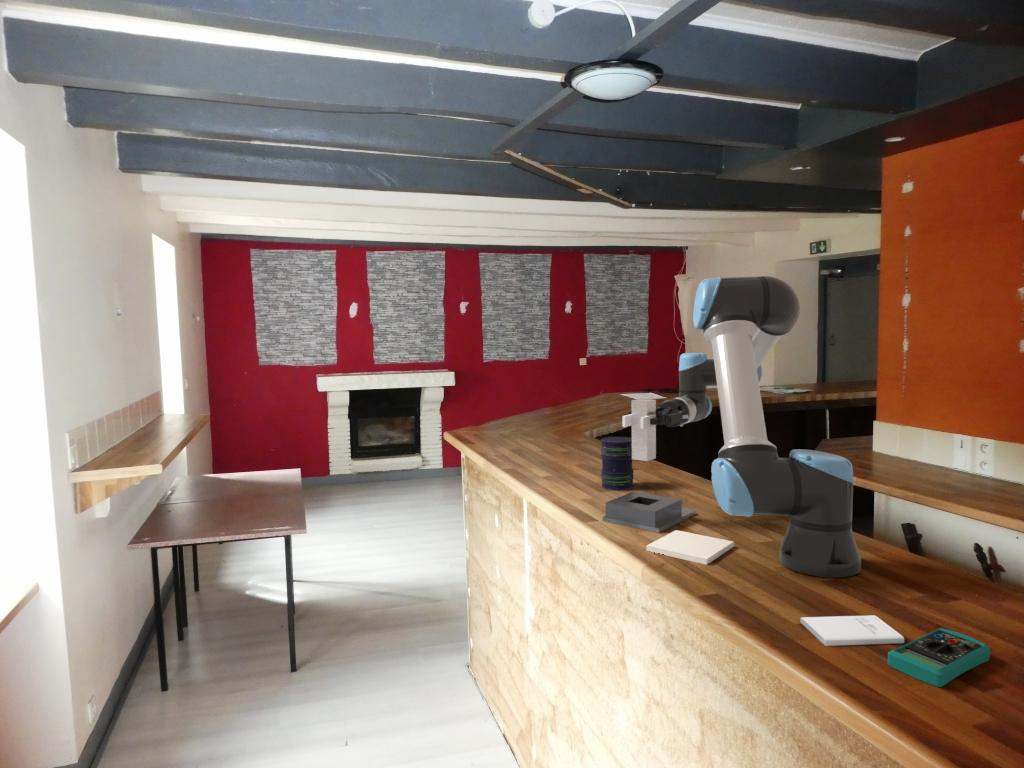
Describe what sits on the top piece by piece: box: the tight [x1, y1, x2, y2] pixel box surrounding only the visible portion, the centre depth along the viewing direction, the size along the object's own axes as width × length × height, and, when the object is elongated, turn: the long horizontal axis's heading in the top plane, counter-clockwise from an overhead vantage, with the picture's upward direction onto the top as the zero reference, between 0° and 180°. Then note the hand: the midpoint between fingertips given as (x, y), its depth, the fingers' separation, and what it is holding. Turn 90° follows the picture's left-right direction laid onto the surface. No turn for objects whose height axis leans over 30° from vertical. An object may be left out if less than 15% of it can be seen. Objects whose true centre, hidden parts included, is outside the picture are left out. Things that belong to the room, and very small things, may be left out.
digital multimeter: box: [887, 627, 991, 688], centre depth 95 cm, size 7×15×3 cm, turn 121°
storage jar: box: [600, 436, 634, 492], centre depth 202 cm, size 10×10×15 cm
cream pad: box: [646, 529, 735, 566], centre depth 146 cm, size 14×14×1 cm
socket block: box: [601, 491, 697, 534], centre depth 170 cm, size 16×20×5 cm
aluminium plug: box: [630, 398, 657, 462], centre depth 166 cm, size 4×4×15 cm
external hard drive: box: [800, 614, 905, 647], centre depth 105 cm, size 2×8×12 cm
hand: (632, 422), depth 162 cm, fingers closed on aluminium plug, 4 cm apart
